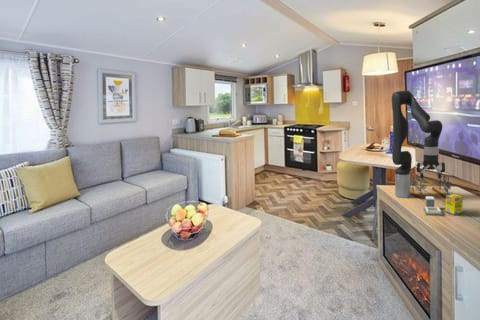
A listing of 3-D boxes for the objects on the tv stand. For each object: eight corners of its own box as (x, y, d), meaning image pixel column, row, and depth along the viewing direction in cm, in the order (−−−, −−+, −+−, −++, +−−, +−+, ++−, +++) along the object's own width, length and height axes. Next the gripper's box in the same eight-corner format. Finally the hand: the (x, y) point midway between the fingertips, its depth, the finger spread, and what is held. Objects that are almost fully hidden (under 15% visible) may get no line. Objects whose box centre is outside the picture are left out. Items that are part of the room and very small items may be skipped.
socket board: (423, 209, 170) (423, 205, 169) (439, 210, 166) (439, 206, 165) (425, 215, 162) (426, 211, 162) (443, 216, 158) (443, 212, 158)
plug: (425, 207, 173) (425, 196, 172) (432, 207, 171) (433, 196, 170) (426, 209, 170) (426, 198, 168) (434, 209, 168) (434, 198, 166)
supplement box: (454, 215, 157) (455, 198, 155) (444, 212, 163) (445, 195, 161) (462, 213, 158) (463, 196, 156) (452, 210, 164) (453, 193, 162)
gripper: (443, 151, 163) (442, 177, 167) (416, 152, 170) (415, 176, 173) (446, 154, 157) (445, 180, 160) (418, 155, 163) (417, 180, 166)
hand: (430, 178), depth 167 cm, fingers open, 8 cm apart
